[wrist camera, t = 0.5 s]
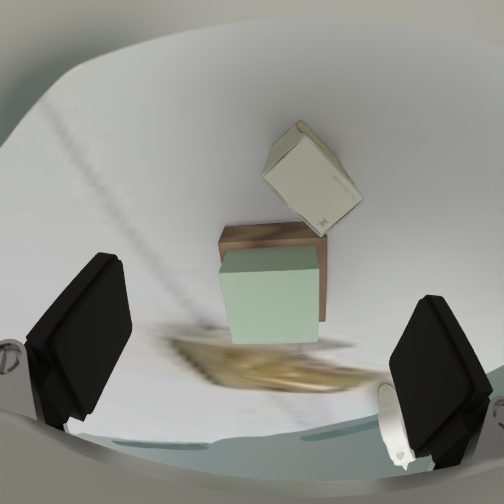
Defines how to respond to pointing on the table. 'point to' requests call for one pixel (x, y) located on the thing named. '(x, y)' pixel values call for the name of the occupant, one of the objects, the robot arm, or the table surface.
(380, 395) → the white brass knuckles
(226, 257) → the tower top block
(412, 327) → the robot arm
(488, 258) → the table surface
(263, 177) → the skincare box
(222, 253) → the tower base block
